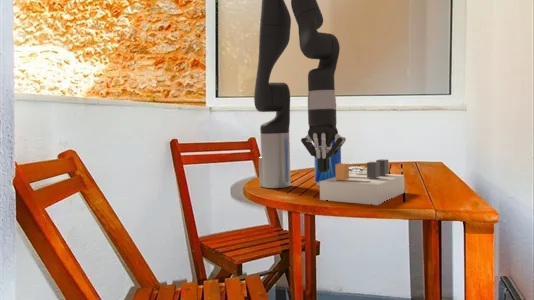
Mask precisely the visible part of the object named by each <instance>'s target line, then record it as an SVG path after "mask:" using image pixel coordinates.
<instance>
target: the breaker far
mask: <svg viewBox="0 0 534 300" xmlns="http://www.w3.org/2000/svg"><path fill="white" fill-rule="evenodd" d="M375 162H380V175H386V174H389V159H376V160H375Z"/></svg>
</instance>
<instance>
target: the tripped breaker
mask: <svg viewBox="0 0 534 300" xmlns="http://www.w3.org/2000/svg"><path fill="white" fill-rule="evenodd" d="M335 170H336V180H346V179H349V173H350V171H349V170H350V167H349V163H342V162H341V163H340V164H335Z"/></svg>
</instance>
